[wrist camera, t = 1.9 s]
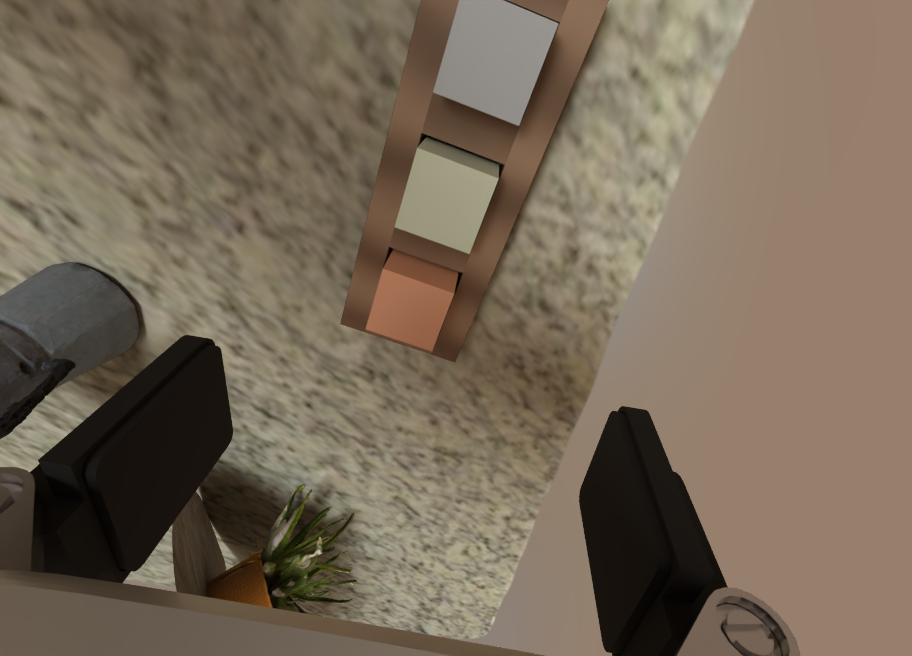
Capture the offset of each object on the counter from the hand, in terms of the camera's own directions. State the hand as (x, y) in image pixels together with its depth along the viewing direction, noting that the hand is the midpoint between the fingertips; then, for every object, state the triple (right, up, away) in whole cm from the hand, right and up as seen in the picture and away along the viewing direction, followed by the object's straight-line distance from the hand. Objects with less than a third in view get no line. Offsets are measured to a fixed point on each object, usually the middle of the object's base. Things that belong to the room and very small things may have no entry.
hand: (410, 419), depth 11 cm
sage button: (+1, +12, +20) cm, 24 cm away
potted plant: (-19, -20, +43) cm, 51 cm away
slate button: (+3, +18, +16) cm, 25 cm away
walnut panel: (+1, +12, +22) cm, 25 cm away
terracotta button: (-2, +5, +24) cm, 25 cm away
